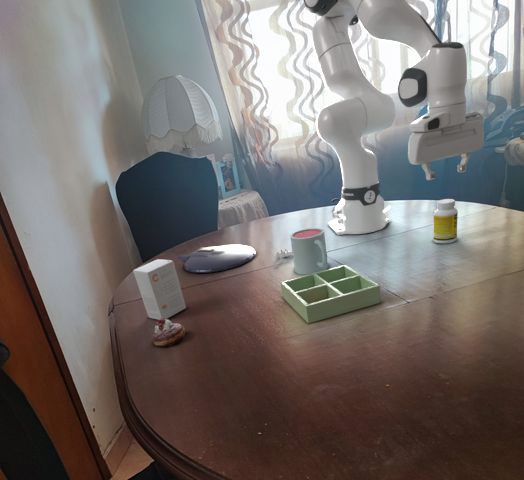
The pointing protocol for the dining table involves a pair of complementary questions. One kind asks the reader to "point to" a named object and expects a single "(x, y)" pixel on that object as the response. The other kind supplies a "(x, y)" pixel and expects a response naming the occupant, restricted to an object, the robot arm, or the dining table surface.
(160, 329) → the pastry
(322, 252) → the mug
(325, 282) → the divided tray
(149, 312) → the small box
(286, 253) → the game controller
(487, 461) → the dining table surface
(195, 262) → the toy spaceship
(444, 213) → the pill bottle
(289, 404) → the dining table surface
